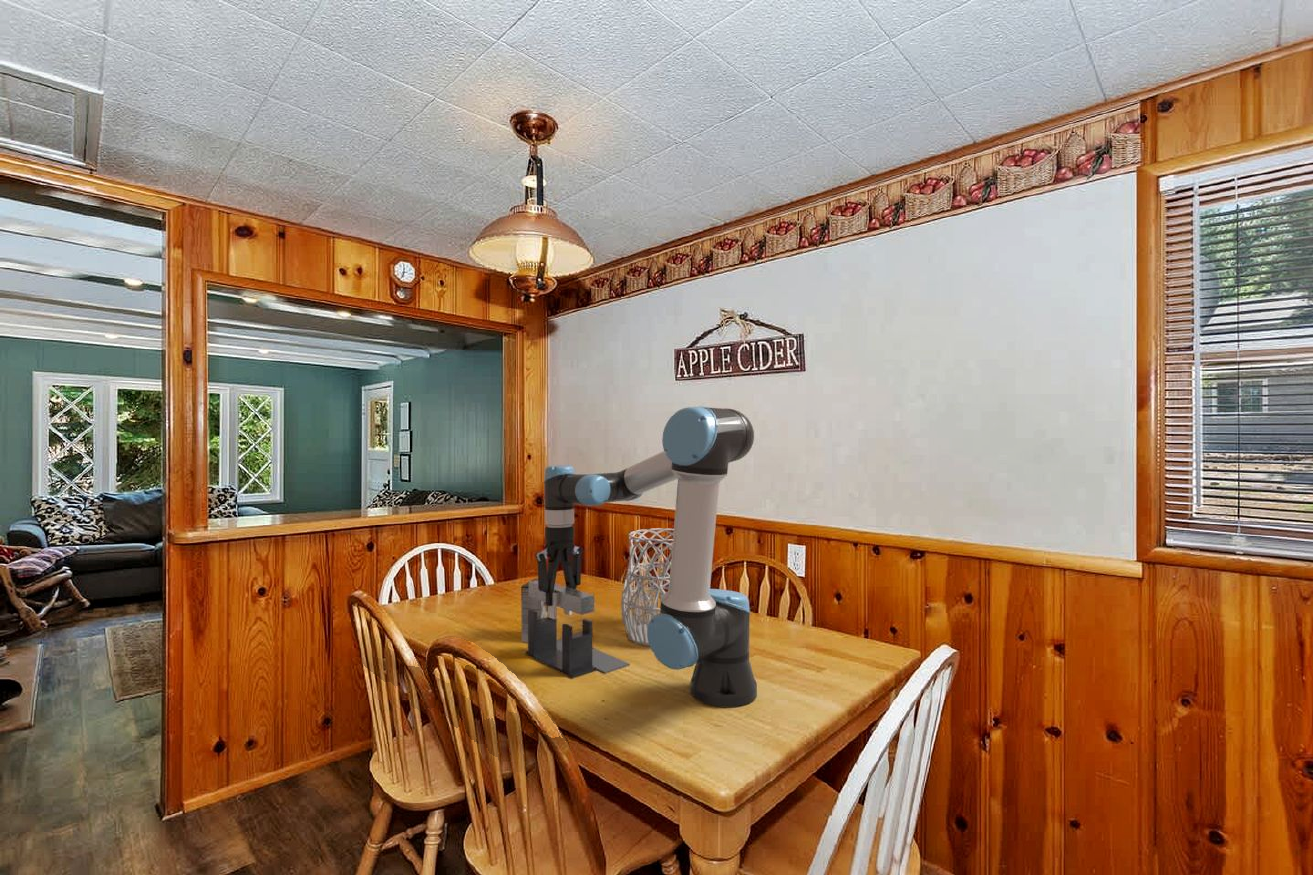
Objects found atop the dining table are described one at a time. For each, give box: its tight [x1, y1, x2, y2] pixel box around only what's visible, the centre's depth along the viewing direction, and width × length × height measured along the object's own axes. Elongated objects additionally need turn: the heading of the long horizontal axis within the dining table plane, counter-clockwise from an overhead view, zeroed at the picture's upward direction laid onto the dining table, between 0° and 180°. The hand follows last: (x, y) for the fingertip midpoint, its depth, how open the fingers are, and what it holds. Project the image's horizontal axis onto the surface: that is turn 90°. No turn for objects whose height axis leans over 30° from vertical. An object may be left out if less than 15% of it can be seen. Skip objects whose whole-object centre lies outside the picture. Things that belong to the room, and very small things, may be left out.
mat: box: [557, 637, 631, 674], centre depth 161 cm, size 28×8×1 cm, turn 43°
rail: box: [528, 580, 595, 615], centre depth 155 cm, size 24×4×4 cm, turn 43°
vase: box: [620, 527, 674, 647], centre depth 177 cm, size 24×24×30 cm
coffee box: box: [520, 578, 548, 643], centre depth 174 cm, size 9×6×16 cm
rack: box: [524, 610, 597, 679], centre depth 156 cm, size 22×7×12 cm, turn 43°
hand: (560, 615), depth 155 cm, fingers closed on rail, 4 cm apart
